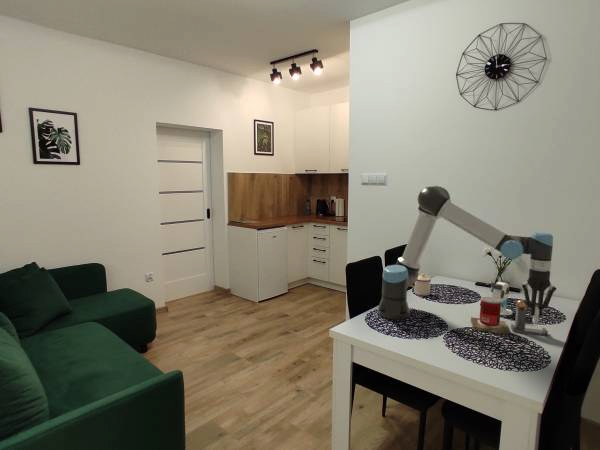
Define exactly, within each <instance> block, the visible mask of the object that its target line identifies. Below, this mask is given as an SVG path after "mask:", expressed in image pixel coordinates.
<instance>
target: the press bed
mask: <svg viewBox="0 0 600 450" xmlns="http://www.w3.org/2000/svg"><path fill="white" fill-rule="evenodd" d="M470 322H471V325H472V329H473V331H478V332H479V331H480V332H488V333H496V334H500V335H501V334H504V335H510V333H511V332H510V329H509V327H508V325H507V324H506V321H505V320H500V323H499V325H498V326H488V325H484V324H482V323H481V322H480V317H474V316H473V317H471V316H470Z"/></svg>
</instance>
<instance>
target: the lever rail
mask: <svg viewBox="0 0 600 450" xmlns="http://www.w3.org/2000/svg"><path fill="white" fill-rule="evenodd" d="M510 329H511V331H512V332H514V333H520V334H521V333H522V334H529V335H536V336H544V337H548V336H549V335H548V332H549V331H548V330H547V329H546V327H542V328H541V329H538V328H537V329H536V328H529V327H525V330H518V329H516V327H515V323H511V325H510Z"/></svg>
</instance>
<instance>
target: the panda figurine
mask: <svg viewBox="0 0 600 450" xmlns="http://www.w3.org/2000/svg"><path fill="white" fill-rule="evenodd" d="M492 291H493V292H492V297H493V298H497V299H499V300H501V311H500V316H511V315H513V311H512V310H511V309H508V308H507V304H508V302H509V298H508V297H509V293H510V281H508V280H503V279H502V280H500V281H497V282H496V283H494V284H493V290H492Z"/></svg>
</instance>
